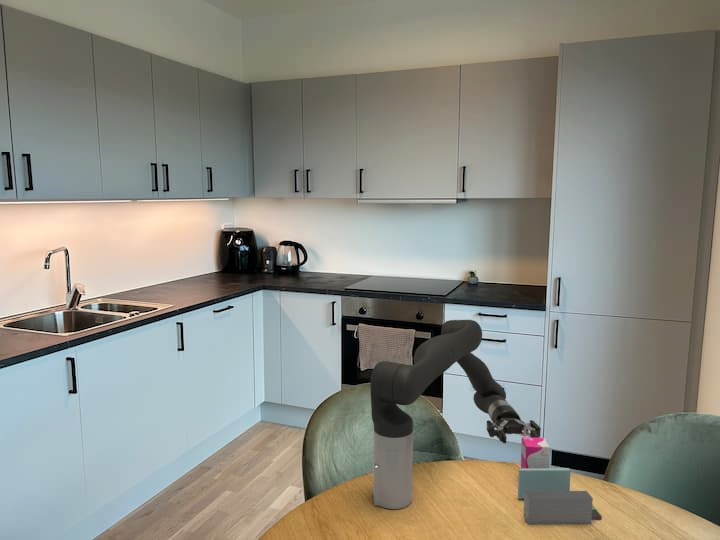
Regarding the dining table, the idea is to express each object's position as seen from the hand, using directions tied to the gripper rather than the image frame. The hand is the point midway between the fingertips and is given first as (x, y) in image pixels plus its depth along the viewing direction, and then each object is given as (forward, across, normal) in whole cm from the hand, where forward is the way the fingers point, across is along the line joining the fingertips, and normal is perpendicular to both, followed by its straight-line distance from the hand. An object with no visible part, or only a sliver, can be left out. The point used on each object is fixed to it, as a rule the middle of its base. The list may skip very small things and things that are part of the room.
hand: (520, 440), depth 143 cm
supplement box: (+11, 0, +7) cm, 13 cm away
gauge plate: (+18, +2, +6) cm, 19 cm away
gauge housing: (+22, +1, +7) cm, 23 cm away
